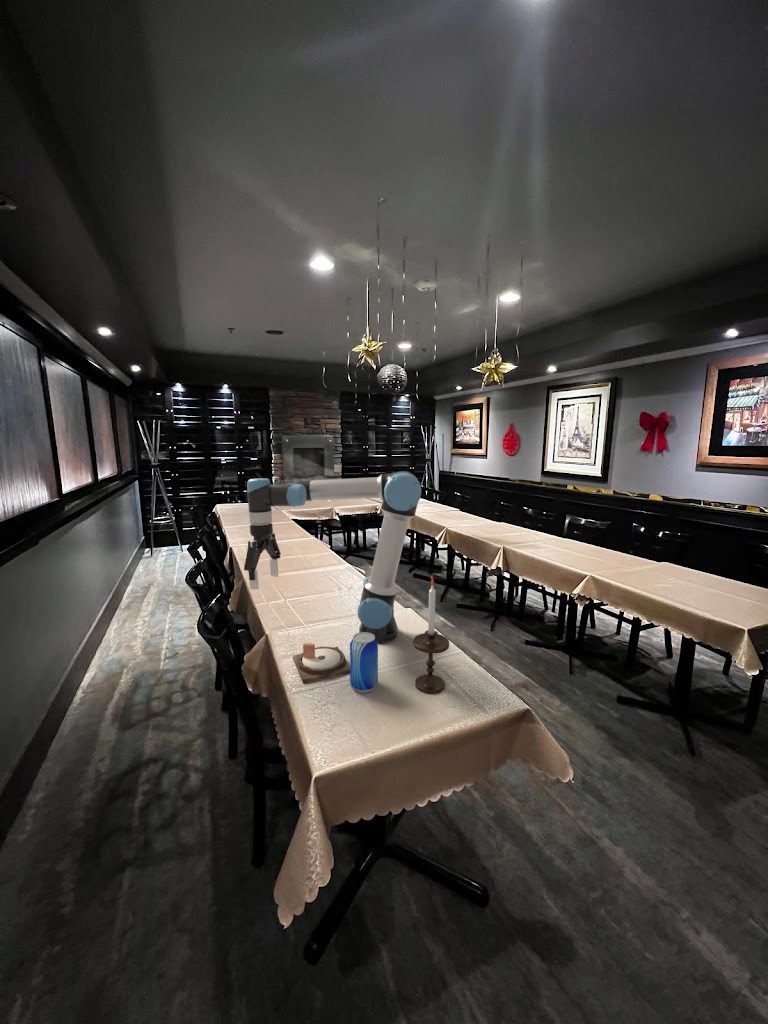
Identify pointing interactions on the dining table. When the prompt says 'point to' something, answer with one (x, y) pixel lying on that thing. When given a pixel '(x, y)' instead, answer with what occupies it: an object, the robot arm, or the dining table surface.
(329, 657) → the dial
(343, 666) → the dial housing
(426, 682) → the candlestick
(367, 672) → the beer can
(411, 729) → the dining table surface
